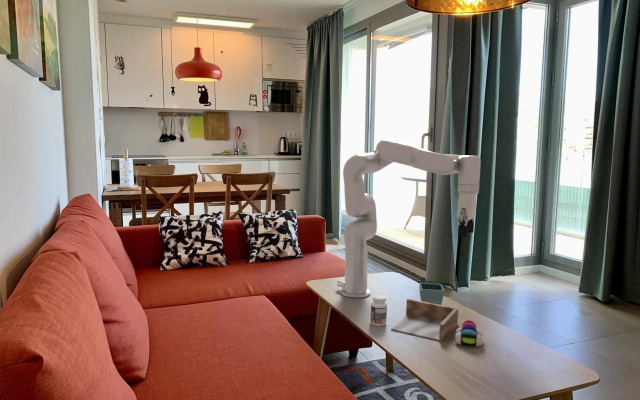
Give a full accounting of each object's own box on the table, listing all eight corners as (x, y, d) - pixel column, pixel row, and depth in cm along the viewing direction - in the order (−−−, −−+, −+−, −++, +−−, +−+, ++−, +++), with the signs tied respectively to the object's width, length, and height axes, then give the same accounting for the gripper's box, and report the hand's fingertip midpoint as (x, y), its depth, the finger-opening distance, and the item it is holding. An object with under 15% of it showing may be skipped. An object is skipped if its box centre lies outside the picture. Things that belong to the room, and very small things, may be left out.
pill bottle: (369, 320, 181) (369, 294, 179) (384, 320, 181) (385, 294, 180) (371, 326, 175) (372, 299, 174) (387, 326, 175) (388, 299, 174)
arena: (388, 329, 172) (389, 313, 171) (407, 313, 188) (407, 298, 187) (442, 342, 163) (443, 324, 162) (457, 324, 179) (458, 308, 178)
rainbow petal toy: (482, 339, 166) (483, 318, 165) (481, 350, 157) (483, 328, 156) (456, 335, 169) (457, 315, 168) (454, 346, 160) (455, 325, 159)
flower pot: (440, 305, 199) (441, 283, 198) (443, 312, 190) (444, 290, 189) (418, 304, 200) (419, 282, 198) (420, 311, 191) (421, 289, 190)
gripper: (464, 186, 192) (461, 229, 194) (451, 190, 177) (449, 236, 179) (483, 187, 188) (481, 231, 190) (473, 191, 173) (470, 239, 176)
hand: (465, 234), depth 185 cm, fingers open, 9 cm apart
